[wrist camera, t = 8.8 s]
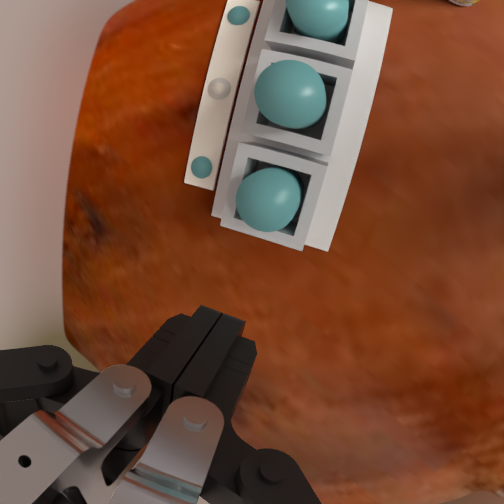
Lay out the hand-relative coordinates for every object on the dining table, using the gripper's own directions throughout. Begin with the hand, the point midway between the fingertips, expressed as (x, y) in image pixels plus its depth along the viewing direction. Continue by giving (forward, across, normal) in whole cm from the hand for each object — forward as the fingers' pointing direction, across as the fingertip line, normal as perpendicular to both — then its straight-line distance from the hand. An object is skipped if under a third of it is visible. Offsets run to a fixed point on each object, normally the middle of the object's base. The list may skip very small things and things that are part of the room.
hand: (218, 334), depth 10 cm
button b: (+19, +2, -9) cm, 21 cm away
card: (+22, +10, -9) cm, 26 cm away
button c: (+21, +2, -1) cm, 21 cm away
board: (+22, +2, -9) cm, 24 cm away
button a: (+21, +2, -17) cm, 27 cm away
